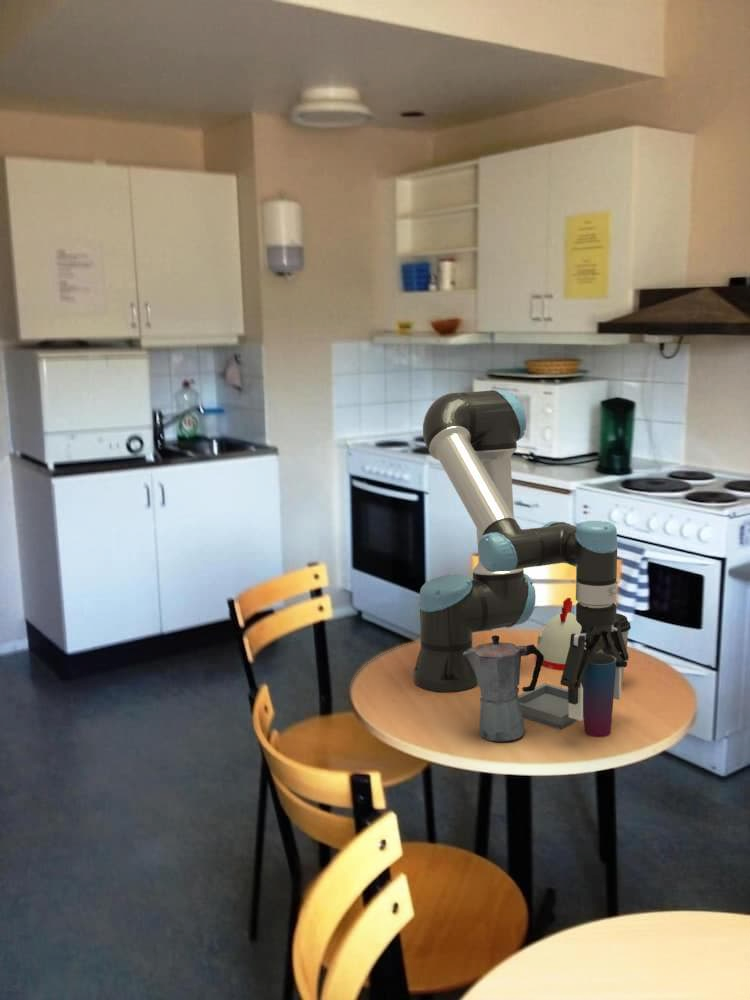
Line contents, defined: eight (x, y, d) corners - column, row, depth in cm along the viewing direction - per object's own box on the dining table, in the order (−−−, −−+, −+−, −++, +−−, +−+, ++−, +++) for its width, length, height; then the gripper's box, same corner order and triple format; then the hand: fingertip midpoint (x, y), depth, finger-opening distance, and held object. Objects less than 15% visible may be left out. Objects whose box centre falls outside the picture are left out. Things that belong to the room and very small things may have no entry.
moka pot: (463, 723, 189) (461, 628, 185) (539, 722, 188) (539, 627, 184) (466, 744, 179) (464, 644, 176) (546, 743, 179) (546, 642, 175)
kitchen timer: (601, 655, 226) (602, 595, 223) (588, 674, 214) (589, 610, 211) (545, 648, 232) (545, 589, 229) (529, 666, 219) (529, 605, 217)
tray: (508, 712, 194) (508, 700, 193) (545, 693, 203) (545, 683, 202) (561, 729, 184) (561, 717, 184) (597, 709, 193) (597, 698, 193)
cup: (586, 721, 188) (586, 650, 185) (619, 728, 184) (621, 655, 181) (575, 734, 182) (575, 661, 179) (609, 741, 178) (610, 666, 176)
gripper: (576, 621, 167) (575, 733, 171) (647, 592, 184) (645, 694, 188) (541, 613, 172) (541, 722, 176) (613, 585, 190) (612, 685, 193)
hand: (595, 708), depth 182 cm, fingers open, 13 cm apart
